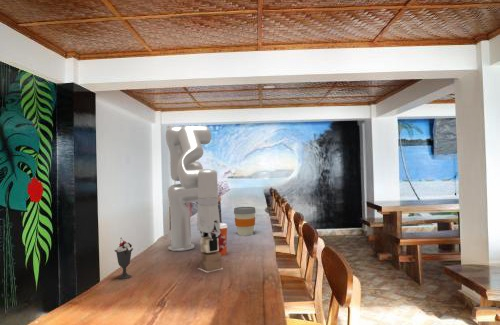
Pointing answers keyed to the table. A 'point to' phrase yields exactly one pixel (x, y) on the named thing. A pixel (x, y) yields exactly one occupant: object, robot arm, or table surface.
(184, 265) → the table surface
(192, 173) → the robot arm
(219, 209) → the whiskey bottle
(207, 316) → the table surface
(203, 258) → the walnut block
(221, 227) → the paper cup
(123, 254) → the sundae
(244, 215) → the reusable coffee cup
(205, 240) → the birch block
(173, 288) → the table surface
